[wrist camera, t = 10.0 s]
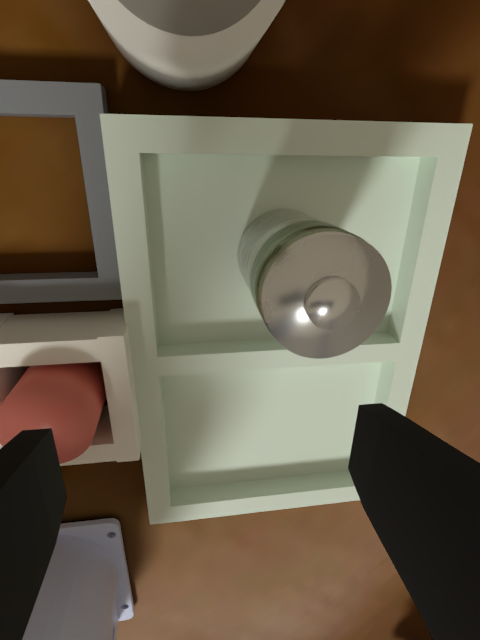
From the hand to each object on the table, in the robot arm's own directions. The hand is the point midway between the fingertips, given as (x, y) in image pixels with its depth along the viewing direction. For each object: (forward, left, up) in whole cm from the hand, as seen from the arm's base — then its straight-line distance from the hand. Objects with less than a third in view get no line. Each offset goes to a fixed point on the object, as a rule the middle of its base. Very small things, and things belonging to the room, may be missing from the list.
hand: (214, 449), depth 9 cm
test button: (-3, +6, -10) cm, 12 cm away
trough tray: (-2, -4, -10) cm, 11 cm away
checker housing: (-3, +6, -10) cm, 12 cm away
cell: (+3, -4, -9) cm, 10 cm away
